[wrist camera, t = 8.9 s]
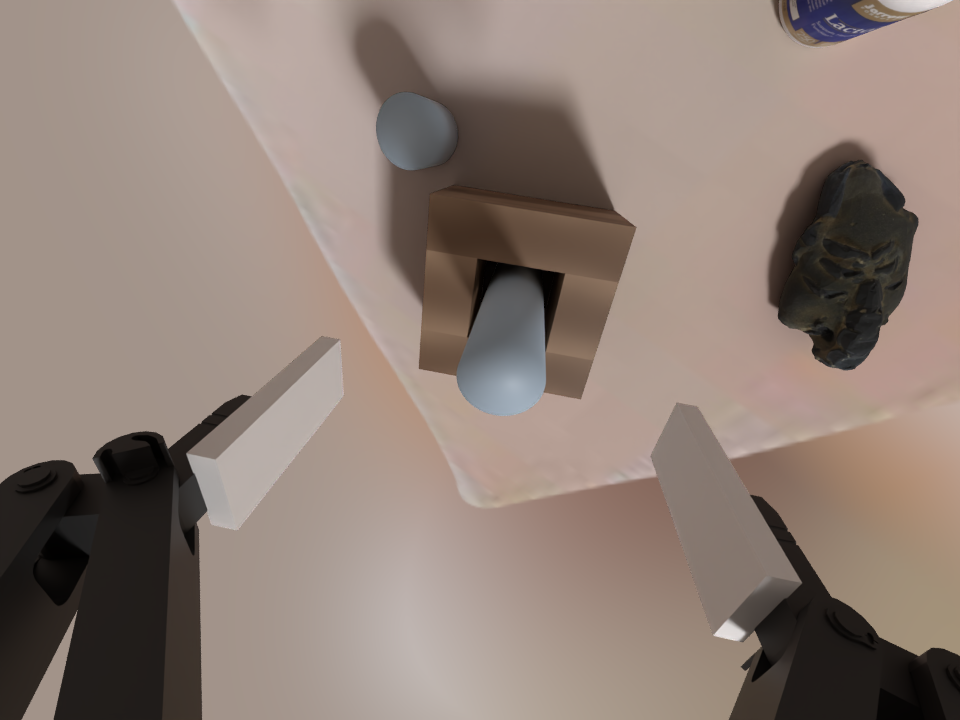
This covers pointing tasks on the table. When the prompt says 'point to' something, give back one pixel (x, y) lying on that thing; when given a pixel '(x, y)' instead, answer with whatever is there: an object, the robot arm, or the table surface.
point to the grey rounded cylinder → (416, 131)
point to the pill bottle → (844, 18)
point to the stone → (850, 265)
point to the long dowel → (506, 344)
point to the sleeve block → (530, 243)
